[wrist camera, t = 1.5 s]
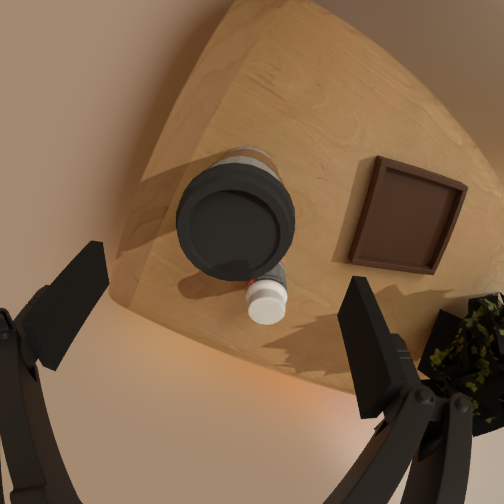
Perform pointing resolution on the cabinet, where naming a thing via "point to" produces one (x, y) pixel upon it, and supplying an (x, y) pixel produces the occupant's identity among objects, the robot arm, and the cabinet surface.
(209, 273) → the coffee cup
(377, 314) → the robot arm
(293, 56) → the cabinet surface
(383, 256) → the tray
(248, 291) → the pill bottle
